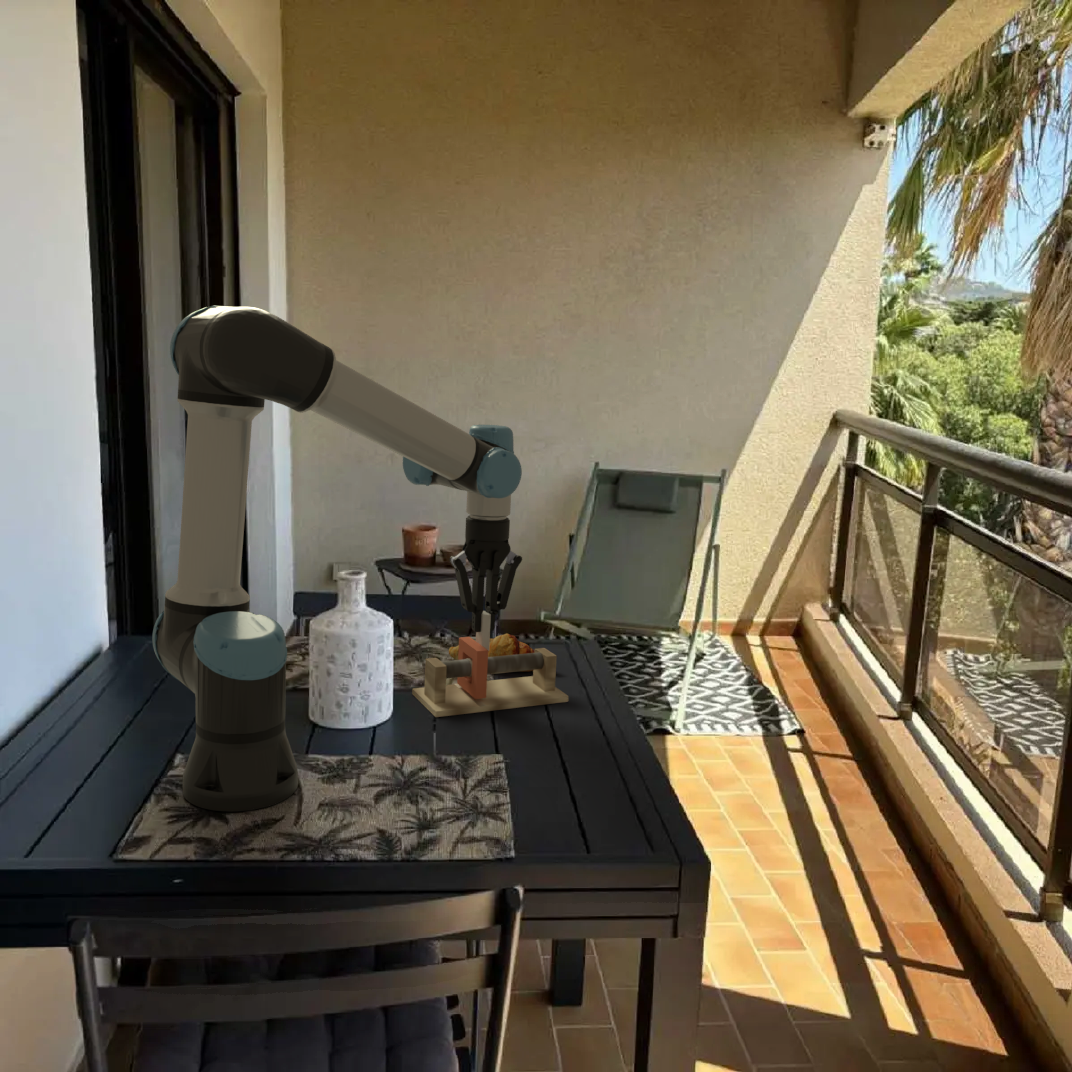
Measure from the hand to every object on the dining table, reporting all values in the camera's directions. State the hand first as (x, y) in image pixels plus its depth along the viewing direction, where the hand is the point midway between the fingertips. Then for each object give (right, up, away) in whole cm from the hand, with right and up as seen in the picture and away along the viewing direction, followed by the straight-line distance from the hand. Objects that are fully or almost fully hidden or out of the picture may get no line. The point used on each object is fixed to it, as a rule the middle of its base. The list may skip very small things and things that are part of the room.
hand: (482, 648), depth 176 cm
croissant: (+2, -6, +21) cm, 22 cm away
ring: (-2, -7, +1) cm, 8 cm away
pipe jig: (+1, -9, +2) cm, 9 cm away
